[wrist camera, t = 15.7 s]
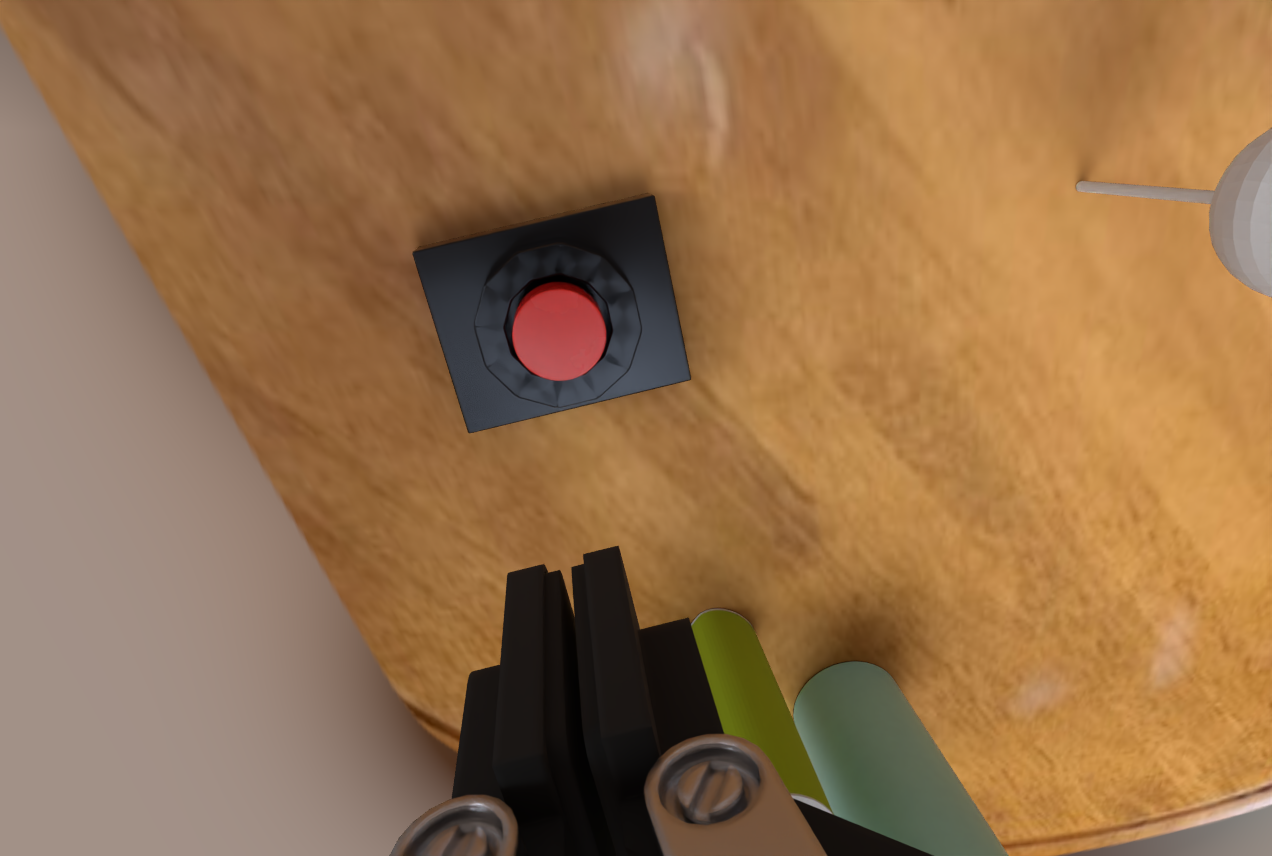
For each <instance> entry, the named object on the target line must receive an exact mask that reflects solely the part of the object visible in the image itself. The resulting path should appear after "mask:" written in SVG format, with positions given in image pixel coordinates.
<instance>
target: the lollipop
mask: <svg viewBox="0 0 1272 856" xmlns="http://www.w3.org/2000/svg"><path fill="white" fill-rule="evenodd" d="M1076 189H1077V191H1079V192H1089V193H1100V194H1110V195H1121V196H1131V197H1142V198H1152V199H1163V200H1173V201H1184V202H1194V203H1205V204H1211V206H1210V212H1209V231H1210V236H1211V241H1212V245H1213V247H1214V249H1215V252H1216V254H1217V256H1218V257H1219V259H1220V260H1221V262H1222V263H1223V265H1224V266H1225V267H1226V268H1227V270H1228V271H1229V272H1230V274H1232V275H1233V276H1234V277H1235V278H1237V279H1238V280H1239V281H1241V282H1242V283H1244V284H1245V285H1246V286H1248V287H1249V288H1251V289H1252V290H1254V291H1257V292H1259V293H1262V294H1264V295H1267V296H1269V297H1272V128H1271V129H1269V130H1268V131H1266V132H1265V133H1263V134H1262V135H1261V136H1259V137H1258V138H1256V139H1255V140H1254V141H1252V142H1251V143H1249V144H1248V145H1247V146H1246V147H1245V148H1244V149H1243V150H1242V151H1241V152H1240V153H1239V154H1238V155H1237V156H1236V157H1235V158H1234V160H1233V161H1232V162H1231V164H1230V165H1229V166H1228V168H1227V169H1226V170H1225V172H1224V174H1223V176H1222V177H1221V179H1220V181H1219V183H1218V185H1217V187H1216V189H1215V191H1210V190H1196V189H1183V188H1170V187H1157V186H1143V185H1130V184H1117V183H1103V182H1090V181H1080V182H1078V183H1077V185H1076Z"/></svg>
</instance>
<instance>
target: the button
mask: <svg viewBox="0 0 1272 856" xmlns="http://www.w3.org/2000/svg"><path fill="white" fill-rule="evenodd" d="M512 341H513V346H514V349H515V352H516V354H517V356H518V358H519V359H520V361H521V362H522V363H523V365H524V366H525V367H526V368H527V369H529V370H530V371H531V372H532V373H534V374H536V375H537V376H540V377H542V378H545V379H548V380H553V381H566V380H571V379H574V378H577V377H579V376H582V375H583V374H585V373H587V372H588V371H589V370H590V369H592V368H593V367H594V366H595V365H596V363H597V362H598V361H599V359H600V357H601V356H602V354H603V351H604V348H605V344H606V326H605V322H604V319H603V316H602V313H601V310H600V308H599V306H598V304H597V303H596V301H595V300H594V298H593V297H592V296H591V295H590V294H589V293H588V292H587V291H585V290H584V289H582V288H580V287H579V286H577V285H574V284H571V283H567V282H550V283H545V284H542V285H540V286H538V287H536V288H534V289H533V290H531V291H530V292H529V293H528V294H526V296H525V297H524V298H523V299H522V300H521V302H520V303H519V305H518V307H517V310H516V312H515V316H514V322H513V328H512Z"/></svg>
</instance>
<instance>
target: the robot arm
mask: <svg viewBox="0 0 1272 856" xmlns="http://www.w3.org/2000/svg"><path fill="white" fill-rule="evenodd" d="M583 559H584V564H582V565H578V566H574V567H572V584H573V599H574V614H575V617H574V614H573V610H572V607H571V603H570V600H569V596H568V593H567V590H566V586H565V583H564V579H563V576H562V573H561V571H560V570H558V571H554V572H549V573H548V571H547V569H546V566H545V565H544V564H542V565H538V566H534V567H530V568H526V569H522V570H518V571H514V572H510V573H508V575H507V585H506V598H505V610H504V623H503V636H502V648H501V661H500V665H497V666H493V667H489V668H485V669H481V670H477V671H473V672H471V673H470V675H469V678H468V683H467V690H466V698H465V705H464V712H463V720H462V727H461V734H460V742H459V749H458V756H457V764H456V771H455V779H454V786H453V793H452V799H450V800H447V801H445V802H443V803H441V804H439V805H437V806H435V807H433V808H431V809H429V810H428V811H427V812H425V813H424V814H423V815H422V816H420V817H419V818H418V819H416V820H415V821H414V822H413V823H412V824H411V825H410V826H409V827H408V828H407V829H406V831H405V832H404V833H403V834H402V835H401V836H400V837H399V839H398V841H397V843H396V844H395V846H394V848H393V850H392V852H391V854H390V856H933V855H931V854H929V853H926V852H924V851H921V850H919V849H916V848H914V847H911V846H909V845H907V844H904V843H902V842H899V841H897V840H894V839H892V838H889V837H887V836H885V835H882V834H880V833H877V832H875V831H872V830H870V829H867V828H865V827H863V826H860V825H858V824H855V823H853V822H850V821H848V820H845V819H843V818H841V817H838V816H836V815H833V814H831V813H828V812H826V811H823V810H821V809H819V808H816V807H814V806H811V805H809V804H806V803H804V802H801V801H799V800H797V799H794V798H792V796H791V794H790V793H789V791H788V789H787V788H786V786H785V784H784V782H783V781H782V779H781V777H780V776H779V774H778V772H777V771H776V769H775V767H774V766H773V764H772V762H771V761H770V759H769V758H768V757H767V756H766V754H765V753H764V752H763V751H762V750H761V749H760V748H759V746H757V745H755V744H753V743H752V742H750V741H748V740H746V739H744V738H741V737H737V736H733V735H729V734H724V731H723V728H722V724H721V721H720V718H719V715H718V711H717V708H716V705H715V702H714V698H713V695H712V692H711V688H710V685H709V682H708V679H707V675H706V672H705V669H704V666H703V662H702V659H701V656H700V653H699V649H698V646H697V643H696V639H695V636H694V633H693V630H692V626H691V623H690V620H689V618H685V619H681V620H677V621H673V622H669V623H665V624H661V625H657V626H653V627H649V628H645V629H641V630H640V627H639V623H638V619H637V616H636V612H635V608H634V604H633V600H632V596H631V592H630V588H629V584H628V580H627V576H626V572H625V568H624V564H623V560H622V557H621V553H620V549H619V546H615V547H611V548H607V549H603V550H599V551H595V552H591V553H587V554H583Z"/></svg>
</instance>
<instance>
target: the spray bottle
mask: <svg viewBox="0 0 1272 856" xmlns="http://www.w3.org/2000/svg"><path fill="white" fill-rule="evenodd" d="M794 723H795V726H796V728H797V730H798V733H799V735H800V737H801V740H802V742H803V744H804V747H805V749H806V751H807V754H808V756H809V758H810V761H811V763H812V765H813V767H814V770H815V772H816V774H817V777H818V779H819V781H820V784H821V786H822V788H823V791H824V793H825V795H826V798H827V800H828V802H829V805H830V807H831V809H832V812H833V814H834V815H836V816H838V817H841V818H843V819H845V820H848V821H850V822H853V823H855V824H858V825H860V826H863V827H865V828H867V829H870V830H872V831H875V832H877V833H880V834H882V835H885V836H887V837H889V838H892V839H894V840H897V841H899V842H902V843H904V844H907V845H909V846H911V847H914V848H916V849H919V850H921V851H924V852H926V853H929V854H931V855H933V856H1008V854H1007V852H1006V851H1005V849H1004V848H1003V846H1002V845H1001V843H1000V842H999V840H998V839H997V837H996V836H995V834H994V832H993V831H992V829H991V828H990V826H989V825H988V823H987V822H986V820H985V819H984V817H983V816H982V814H981V813H980V811H979V809H978V808H977V806H976V805H975V803H974V802H973V800H972V799H971V797H970V796H969V794H968V793H967V791H966V789H965V788H964V786H963V785H962V783H961V782H960V780H959V779H958V777H957V776H956V774H955V773H954V771H953V770H952V768H951V766H950V765H949V763H948V762H947V760H946V759H945V757H944V756H943V754H942V753H941V751H940V750H939V748H938V746H937V745H936V743H935V742H934V740H933V739H932V737H931V736H930V734H929V733H928V731H927V730H926V728H925V727H924V725H923V723H922V722H921V720H920V719H919V717H918V716H917V714H916V713H915V711H914V710H913V708H912V707H911V705H910V704H909V702H908V700H907V699H906V697H905V696H904V694H903V693H902V691H901V690H900V688H899V687H898V685H897V684H896V682H895V680H894V679H893V678H892V677H891V675H890V674H889V673H888V672H886V671H885V670H884V669H882V668H880V667H878V666H876V665H874V664H870V663H867V662H857V661H853V662H844V663H839V664H836V665H833V666H831V667H828V668H826V669H824V670H823V671H821V672H819V673H818V674H816V675H815V676H814V677H813V678H811V679H810V680H809V681H808V682H807V683H806V685H805V686H804V687H803V688H802V690H801V691H800V693H799V695H798V697H797V700H796V702H795V707H794Z"/></svg>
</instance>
